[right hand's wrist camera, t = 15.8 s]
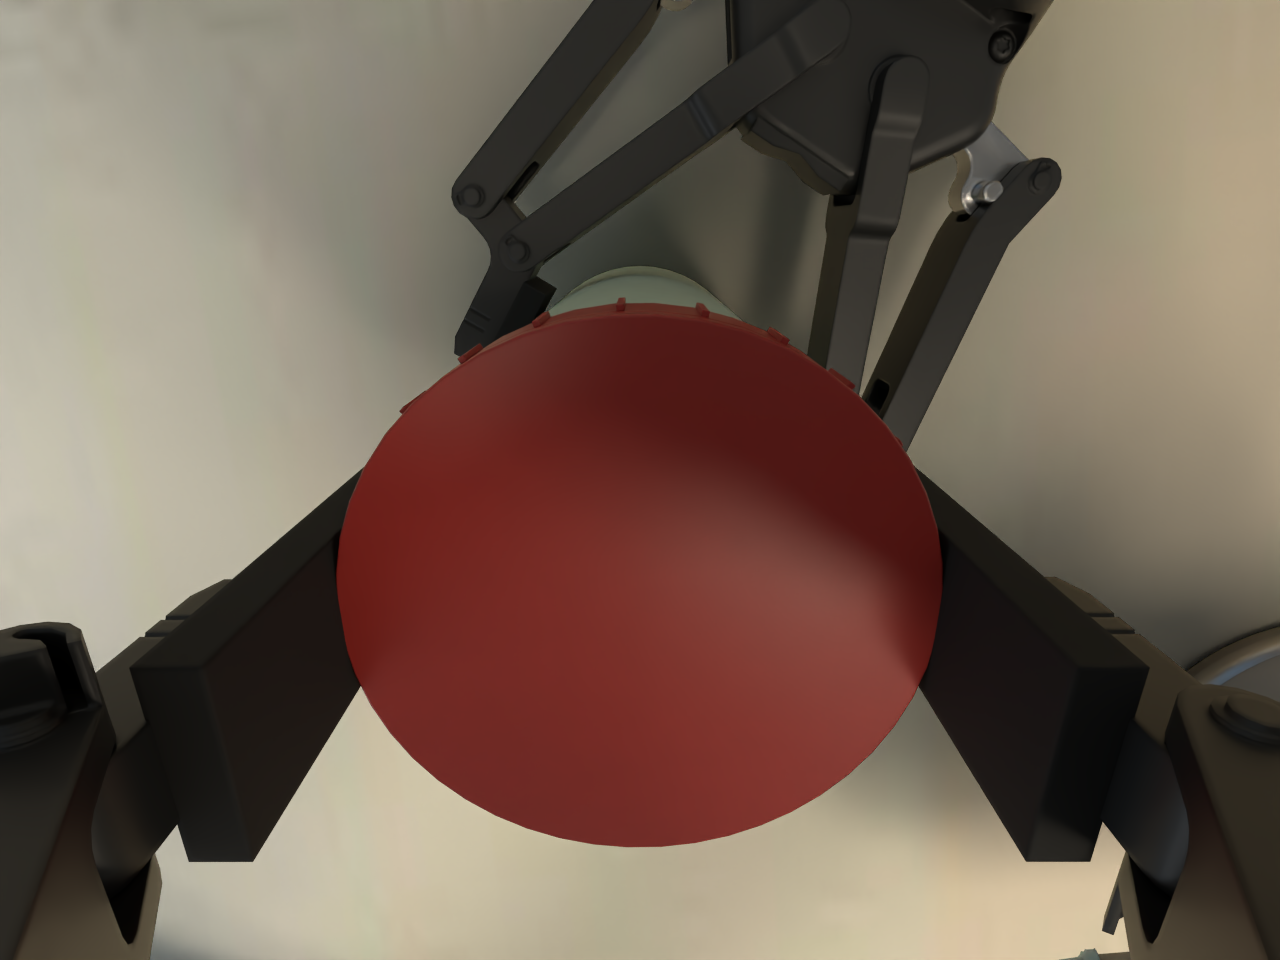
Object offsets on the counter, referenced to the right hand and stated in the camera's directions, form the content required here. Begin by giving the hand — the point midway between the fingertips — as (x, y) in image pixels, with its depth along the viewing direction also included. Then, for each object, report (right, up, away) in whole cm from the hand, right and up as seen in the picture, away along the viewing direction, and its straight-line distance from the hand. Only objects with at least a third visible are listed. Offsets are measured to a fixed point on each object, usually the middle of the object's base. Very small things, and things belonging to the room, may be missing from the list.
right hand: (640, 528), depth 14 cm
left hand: (-2, 0, +10) cm, 11 cm away
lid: (0, -1, -3) cm, 3 cm away
